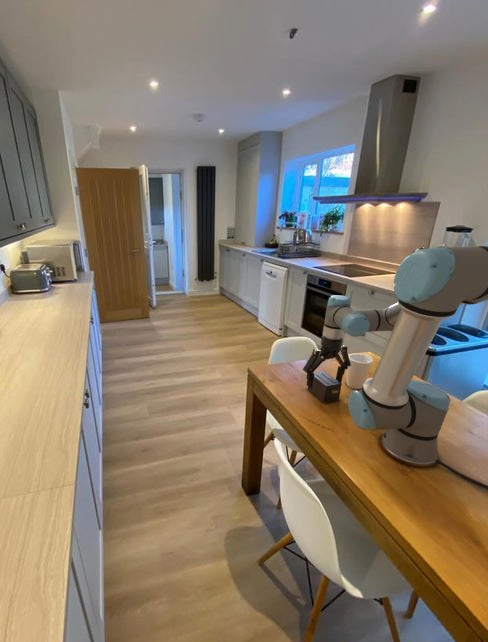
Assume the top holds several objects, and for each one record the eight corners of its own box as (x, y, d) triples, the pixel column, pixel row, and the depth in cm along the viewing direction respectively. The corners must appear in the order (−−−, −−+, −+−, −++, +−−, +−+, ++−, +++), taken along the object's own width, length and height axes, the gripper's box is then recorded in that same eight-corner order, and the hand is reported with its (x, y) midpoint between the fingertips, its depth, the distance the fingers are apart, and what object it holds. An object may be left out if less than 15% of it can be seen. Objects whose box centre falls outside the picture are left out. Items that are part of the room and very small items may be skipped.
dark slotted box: (340, 402, 129) (344, 384, 125) (325, 405, 127) (328, 387, 124) (321, 387, 140) (324, 370, 136) (307, 389, 138) (309, 372, 135)
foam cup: (369, 391, 136) (376, 364, 130) (345, 389, 137) (351, 362, 132) (362, 380, 144) (369, 354, 138) (340, 378, 146) (345, 352, 140)
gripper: (353, 329, 129) (344, 375, 138) (298, 336, 124) (291, 383, 133) (367, 336, 122) (356, 383, 132) (309, 344, 117) (301, 393, 126)
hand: (323, 384), depth 132 cm, fingers open, 13 cm apart
